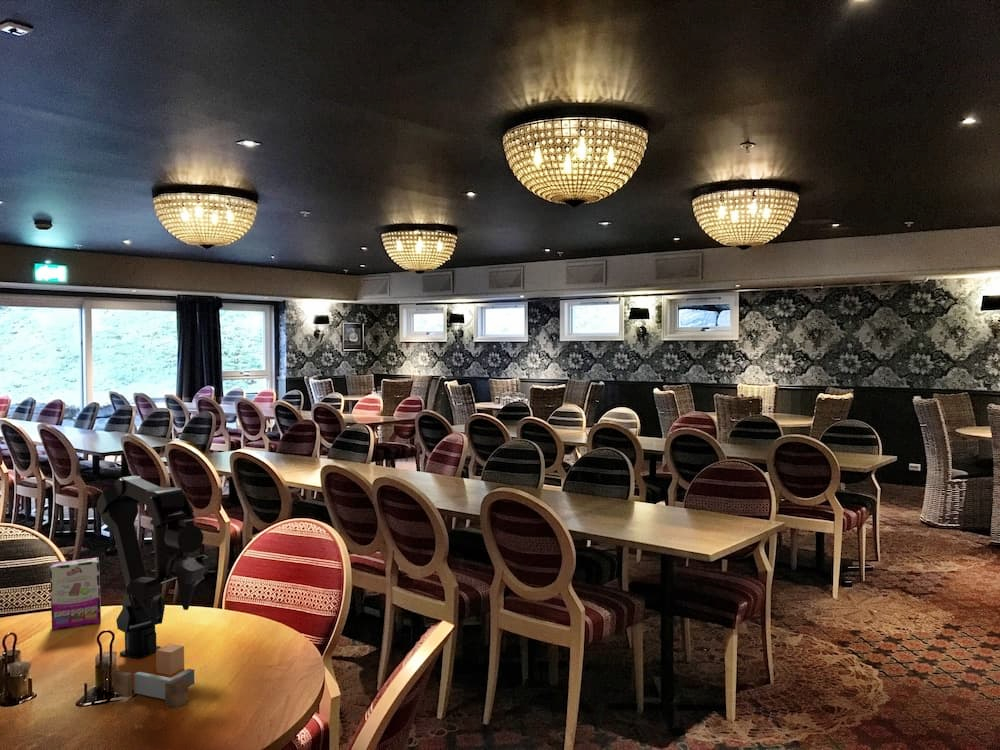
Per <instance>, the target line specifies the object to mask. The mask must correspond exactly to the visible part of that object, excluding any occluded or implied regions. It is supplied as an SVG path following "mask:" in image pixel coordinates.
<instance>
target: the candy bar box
mask: <svg viewBox="0 0 1000 750" xmlns="http://www.w3.org/2000/svg"><path fill="white" fill-rule="evenodd" d="M100 576H101V575H100V559H99V556H97V557H91V558H82V559H73V560H67V561H66V560H65V561H56V562H51V563H50V567H49V578H50V580H49V581H50V603H51V604H50V608H51V609H50V610H51V613H50V614H51V630H52V631H59V630H65V629H71V628H79V627H85V626H90V625H97V624H100V623H101V622H102V621H101V620H102V617H101V616H102V615H101V613H102V606H101V605H102V604H101V603H102V602H101V583H100Z"/></svg>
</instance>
